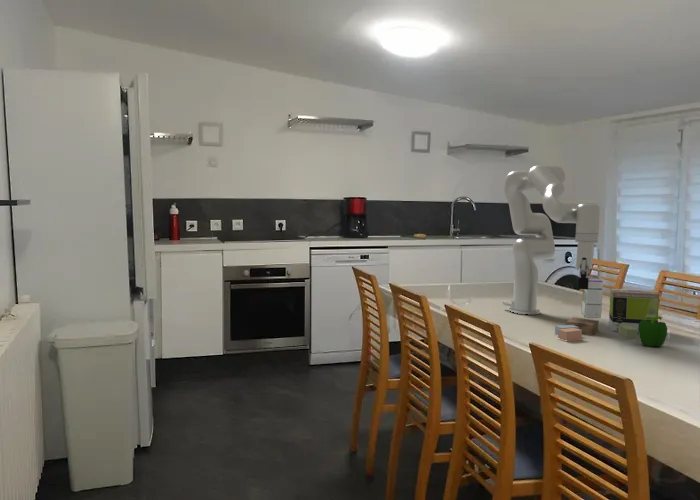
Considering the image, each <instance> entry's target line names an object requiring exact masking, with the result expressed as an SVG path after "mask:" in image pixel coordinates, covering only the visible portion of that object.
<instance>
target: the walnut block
mask: <svg viewBox="0 0 700 500" xmlns="http://www.w3.org/2000/svg"><path fill="white" fill-rule="evenodd" d="M565 322H566V323H565V325H574V326H577V327H579V329H580V330H582V335H588V334H589V335H588V336H593V335H595V334H596V333H597V332H599V322H600V321H599V320H595V319H590V318H582V317H581V318H580V317H574V316H573V317H571V318H570V319H568V320H566V321H565Z"/></svg>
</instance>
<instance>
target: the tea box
mask: <svg viewBox="0 0 700 500" xmlns="http://www.w3.org/2000/svg"><path fill="white" fill-rule="evenodd" d="M659 299H660V294H659V293H657V292H656V291H655V290H651V289H649V290H647V289H629V288H627V289H626V288H610V291H609V315H608V316H609V317H608V318H609V319H608V326H609V327H610V330H611V331H612V332H619V325H630V326H632V327H634V328H635V329H637V334H639V331H638V326H639V323H640V321H642V320H647V321H651V320H652V319H653V317H656V316H659V303H660V300H659ZM655 322H659V319H656V320H655Z"/></svg>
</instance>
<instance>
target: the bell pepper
mask: <svg viewBox="0 0 700 500" xmlns="http://www.w3.org/2000/svg"><path fill="white" fill-rule="evenodd" d="M656 319H658V320H662V319H663V317H662V316H661V315H658V316H656V317H653V319H652V320H651V321H647V320H642V321H640V323H639V326H638V331H639V333H638V335H639V340H640V342H641V345H643V346H646V347H650V348H651V347H654V348H655V347H662V346H663V345H664V343H665V342H666V338H667V336H668V335H667V334H668V327H667V324H666V322H664V321H658V322H655V320H656Z"/></svg>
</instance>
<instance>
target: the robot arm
mask: <svg viewBox="0 0 700 500" xmlns="http://www.w3.org/2000/svg"><path fill="white" fill-rule="evenodd" d="M565 180H566V173H565V170H564V168H562V167H561V166H559V165H556V164H555V165H553V164H537V165H533V166H532V167H531V168H530V169H529V170H513V171H510V172H509V173H508V174H507V175H506V176H505V178H504V182H503V190H504V191H503V192H504V195H505V197H506V200H507V203H508V206H509V213H510V219H511V223H512V230H513V232H514V234H516V235H519V236H529V237H520V238H518V239H516V240H515V241H514V243H513V245H512V255H513V261H514V268H513V269H514V271H513V273H514V276H513V297H512V300H510V301H508V300H503V301H502V305H503V306H505V307H509V308H508V311H509V312H510V311H511V312H510V313H512V312H514V313H513V314H517V313H518V314H517V315H525V314H528V316H530V315H539V314H541V310H540V309H539V308H537V305H538V304H537V303H538V278H539V277H538V276H539V271H538V270H539V269H538V266H537V265H536V263H535V261H546V260H551V258H553V257H554V255H555V251H556V246H555V240H554V235H553V234H554V233H553V229H552V223H551V220H552V221H554V222H555V223H557V224H560V223H561V224H576V225H575V239H574V242H575V243H577V248H576V261H575V270H579V277H578V287H577V289H579V290H583V289H586V290H587V289H588V280H589V278H588V275H591V270H592V268H593V263H594V253H595V244H597V243H599V232H600V231H599V230H600V216H601V215H600V213H601V210H600V209H601V208H600V205H599V204H597V203H583V202H560V201H559V198H561V196H562V195H563V194H564V192H565V184H564V182H565ZM523 192H539V193H540V194H541V195H542V201H541V202H542V203H541V204H542V209H543V211H544V212H545V214H544V213H541V212H533V211H532V208H531V204H530V201H529V199H528V197H527V196H526V195H525V194H524V193H523ZM550 219H551V220H550ZM530 236H531V237H530ZM532 236H533V237H532ZM534 236H535V237H534Z"/></svg>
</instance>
